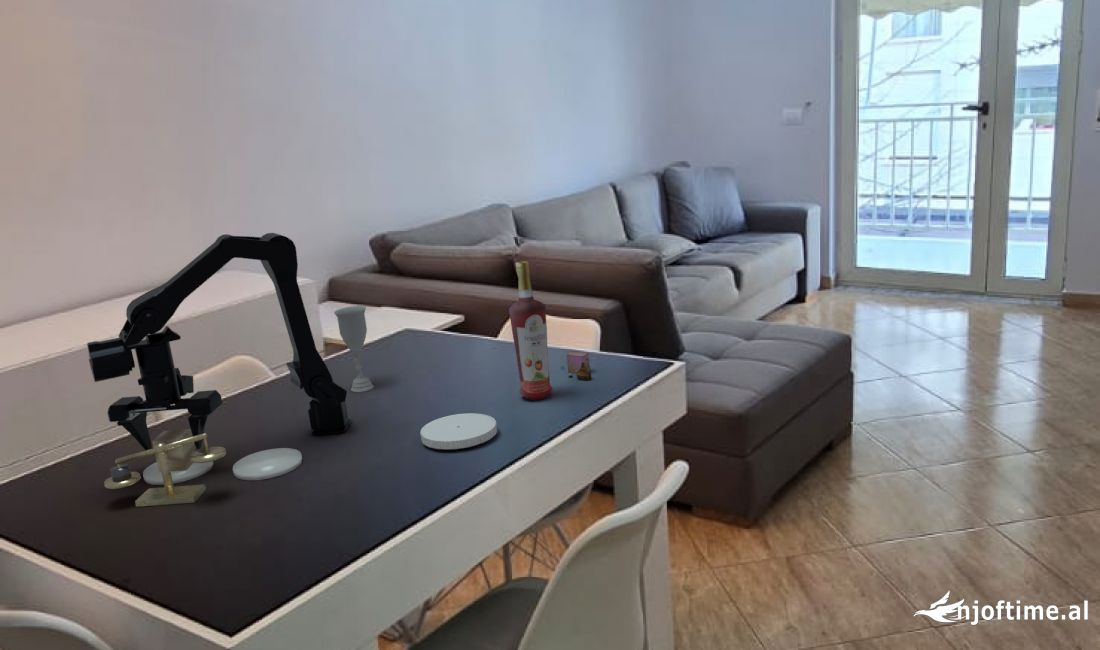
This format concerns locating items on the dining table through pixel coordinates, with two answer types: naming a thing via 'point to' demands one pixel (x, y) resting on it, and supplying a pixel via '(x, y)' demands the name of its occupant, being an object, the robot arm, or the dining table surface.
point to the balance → (164, 474)
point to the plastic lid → (458, 431)
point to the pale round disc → (176, 473)
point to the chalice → (354, 340)
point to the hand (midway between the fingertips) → (174, 450)
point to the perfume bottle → (579, 365)
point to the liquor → (530, 338)
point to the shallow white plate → (267, 464)
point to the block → (176, 449)
